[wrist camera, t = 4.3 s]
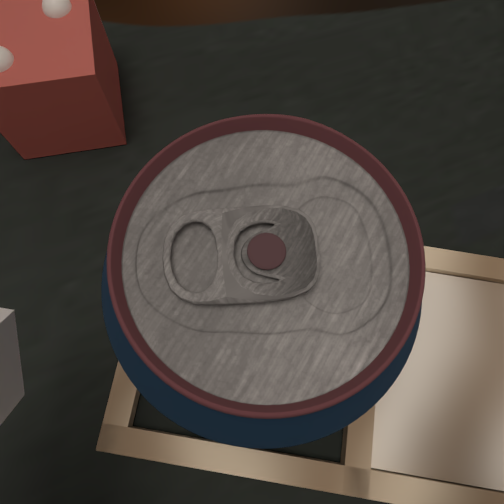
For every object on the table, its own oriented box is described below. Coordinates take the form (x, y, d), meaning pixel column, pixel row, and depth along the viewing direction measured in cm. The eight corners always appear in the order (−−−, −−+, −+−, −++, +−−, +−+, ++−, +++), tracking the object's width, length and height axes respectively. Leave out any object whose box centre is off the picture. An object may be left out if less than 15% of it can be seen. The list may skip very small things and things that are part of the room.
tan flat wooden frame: (101, 448, 18) (95, 450, 17) (161, 211, 21) (158, 203, 20) (864, 584, 17) (893, 593, 16) (799, 312, 20) (821, 309, 19)
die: (24, 159, 22) (-45, 82, 17) (22, 77, 23) (-42, -17, 18) (126, 144, 22) (90, 64, 17) (117, 64, 24) (82, -32, 19)
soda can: (322, 258, 21) (421, 80, 9) (342, 418, 18) (505, 443, 7) (171, 267, 20) (80, 94, 9) (173, 431, 18) (55, 479, 7)
